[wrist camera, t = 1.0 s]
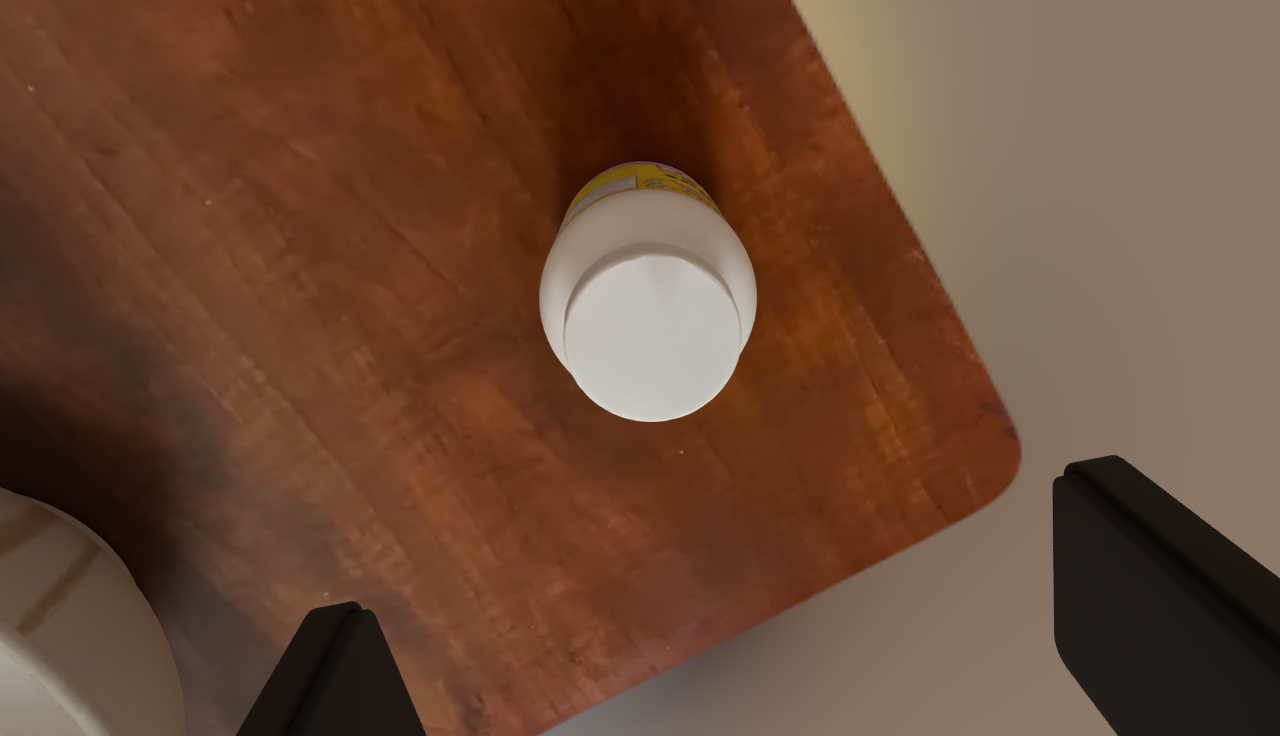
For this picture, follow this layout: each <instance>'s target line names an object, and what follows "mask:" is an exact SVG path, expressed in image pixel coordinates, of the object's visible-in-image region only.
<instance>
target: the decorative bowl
mask: <svg viewBox="0 0 1280 736" xmlns="http://www.w3.org/2000/svg"><path fill="white" fill-rule="evenodd" d="M0 736H186V721H185V710H184V703H183V696H182V689H181V685H180V680H179V676H178V672H177V668H176V664H175V661H174V657H173V655H172V652H171V649H170V646H169V643H168V641H167V638H166V636H165V634H164V631H163V629H162V627H161V625H160V623H159V621H158V619H157V617H156V615H155V613H154V612H153V610H152V608H151V606H150V605H149V603H148V601H147V600H146V598H145V597H144V595H143V594H142V592H141V591H140V590H139V588H138V587H137V586H136V583H135V581H134V579H133V577H132V575H131V574H130V572H129V570H128V569H127V567H126V566H125V564H124V563H123V561H122V560H121V559H120V557H119V556H118V555H117V554H116V552H115V551H114V550H113V549H112V548H111V547H110V546H109V545H108V544H107V543H106V542H105V541H104V540H103V539H102V538H101V537H100V536H98V535H97V534H96V533H95V532H94V531H92V530H91V529H90V528H88V527H87V526H86V525H84V524H83V523H81V522H80V521H78V520H77V519H75V518H73V517H72V516H70V515H68V514H67V513H65V512H63V511H61V510H59V509H57V508H55V507H53V506H50V505H48V504H46V503H43V502H41V501H38V500H35V499H32V498H29V497H26V496H22V495H19V494H15V493H13V492H11V491H9V490H6V489H3V488H1V487H0Z"/></svg>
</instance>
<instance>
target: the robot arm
mask: <svg viewBox="0 0 1280 736" xmlns="http://www.w3.org/2000/svg"><path fill="white" fill-rule="evenodd" d="M1053 567H1054V568H1053V570H1054V637H1055V643H1056V647H1057V650H1058V653H1059V655H1060V657H1061V659H1062V661H1063V663H1064V664H1065V666H1066V667H1067V669H1068V670H1069V671H1070V673H1071V674H1072V675H1073V677H1074V678H1075V679H1076V680H1077V682H1078V683H1079V685H1080V686H1081V687H1082V689H1083V690H1084V691H1085V693H1086V694H1087V695H1088V697H1089V698H1090V699H1091V701H1092V702H1093V703H1094V705H1095V706H1096V707H1097V709H1098V710H1099V711H1100V712H1101V714H1102V715H1103V717H1104V718H1105V719H1106V721H1107V722H1108V723H1109V725H1110V726H1111V727H1112V728H1113V730H1114V731H1115V732H1116V734H1117V735H1118V736H1280V578H1279V577H1277V576H1276V575H1275V574H1273V573H1272V572H1271V571H1269V570H1268V569H1267V568H1265V567H1264V566H1263V565H1261V564H1260V563H1259V562H1257V561H1256V560H1255V559H1254V558H1252V557H1251V556H1250V555H1248V554H1247V553H1246V552H1244V551H1243V550H1242V549H1241V548H1239V547H1238V546H1237V545H1235V544H1234V543H1233V542H1231V541H1230V540H1229V539H1227V538H1226V537H1225V536H1224V535H1222V534H1221V533H1220V532H1218V531H1217V530H1216V529H1214V528H1213V527H1211V526H1210V525H1209V524H1208V523H1206V522H1205V521H1204V520H1203V519H1201V518H1200V517H1199V516H1197V515H1196V514H1195V513H1193V512H1192V511H1191V510H1190V509H1188V508H1187V507H1186V506H1184V505H1183V504H1182V503H1180V502H1179V501H1178V500H1176V499H1175V498H1174V497H1172V496H1171V495H1170V494H1169V493H1167V492H1166V491H1165V490H1163V489H1162V488H1161V487H1159V486H1158V485H1157V484H1155V483H1154V482H1153V481H1152V480H1150V479H1149V478H1147V477H1146V476H1145V475H1144V474H1142V473H1141V472H1140V471H1138V470H1137V469H1136V468H1135V467H1133V466H1132V465H1131V464H1129V463H1128V462H1127V461H1125V460H1124V459H1123V458H1121V457H1119V456H1116V455H1110V456H1105V457H1100V458H1095V459H1090V460H1084V461H1080V462H1074V463H1070V464H1068V465H1067V466H1066V468H1065V470H1064V476H1061V477H1057V478H1056V479H1055V480H1054V482H1053ZM236 736H426V733H425V731H424V729H423V726H422V724H421V722H420V719H419V717H418V715H417V712H416V710H415V708H414V705H413V703H412V700H411V698H410V696H409V693H408V691H407V689H406V686H405V684H404V682H403V679H402V677H401V675H400V672H399V670H398V667H397V665H396V663H395V660H394V658H393V656H392V653H391V651H390V649H389V646H388V644H387V642H386V639H385V637H384V634H383V632H382V630H381V627H380V625H379V623H378V620H377V618H376V616H375V614H374V613H373V612H372V611H371V610H368V609H366V610H363V609H362V608H361V606H360V605H359V604H358V603H357V602H352V601H351V602H346V603H341V604H336V605H330V606H325V607H320V608H315V609H313V610H311V611H310V612H309V613H308V614H307V615H306V617H305V618H304V620H303V622H302V624H301V625H300V627H299V629H298V630H297V632H296V634H295V635H294V637H293V639H292V641H291V642H290V644H289V646H288V647H287V649H286V651H285V652H284V654H283V656H282V658H281V659H280V661H279V663H278V664H277V666H276V668H275V669H274V671H273V673H272V675H271V676H270V678H269V680H268V681H267V683H266V685H265V686H264V688H263V690H262V692H261V693H260V695H259V697H258V698H257V700H256V702H255V704H254V705H253V707H252V709H251V710H250V712H249V714H248V715H247V717H246V719H245V721H244V722H243V724H242V726H241V727H240V729H239V731H238V732H237V734H236Z"/></svg>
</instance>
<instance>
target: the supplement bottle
mask: <svg viewBox="0 0 1280 736" xmlns="http://www.w3.org/2000/svg"><path fill="white" fill-rule="evenodd" d="M539 301H540V313H541V320H542V323H543V327H544V330H545V334H546V336H547V339H548V341H549V343H550V345H551V347H552V349H553V351H554V353H555V354H556V356H557V357H558V359H559V360H560V362H561V363H562V364H563V365H564V366H565V368H566V369H567V370H568V371H569V372H570V373H571V374H572V375H573V377H574V379H575V380H576V382H577V384H578V385H579V387H580V388H581V389H582V390H583V391H584V392H585V393H586V395H587V396H588V397H589V398H590V399H591V400H593V401H594V402H595V403H597V404H598V405H599V406H601V407H602V408H604V409H606V410H607V411H609V412H611V413H613V414H615V415H618V416H621V417H624V418H627V419H631V420H636V421H646V422H655V421H666V420H670V419H675V418H679V417H682V416H685V415H687V414H690V413H692V412H694V411H696V410H697V409H699V408H700V407H702V406H704V405H705V404H706V403H708V402H709V401H710V400H712V399H713V398H714V397H715V396H716V395H717V394H718V393H719V392H720V391H721V389H722V388H723V387H724V386H725V384H726V383H727V381H728V380H729V378H730V377H731V375H732V373H733V371H734V369H735V367H736V364H737V362H738V358H739V355H740V353H741V352H742V350H743V348H744V346H745V344H746V342H747V340H748V338H749V335H750V333H751V330H752V326H753V323H754V319H755V313H756V304H757V291H756V282H755V276H754V272H753V268H752V265H751V262H750V259H749V257H748V254H747V252H746V250H745V248H744V246H743V245H742V243H741V241H740V239H739V238H738V236H737V235H736V233H735V232H734V231H733V229H732V228H731V227H730V225H729V224H728V222H727V221H726V219H725V218H724V216H723V214H722V213H721V212H720V210H719V209H718V207H717V206H716V205H715V203H714V202H713V200H712V199H711V198H710V196H709V195H708V194H707V193H706V191H705V190H704V189H703V188H702V187H701V186H700V185H699V184H698V183H697V182H696V181H694V180H693V179H692V178H690V177H689V176H688V175H686V174H685V173H683V172H681V171H679V170H677V169H675V168H673V167H670V166H667V165H664V164H660V163H654V162H630V163H625V164H621V165H618V166H615V167H612V168H610V169H608V170H606V171H604V172H602V173H600V174H599V175H597V176H596V177H594V178H593V179H592V180H590V181H589V182H588V183H587V184H586V185H585V186H584V187H583V188H582V189H581V190H580V191H579V192H578V194H577V195H576V197H575V198H574V200H573V201H572V203H571V204H570V206H569V208H568V210H567V213H566V215H565V217H564V220H563V222H562V224H561V226H560V229H559V232H558V234H557V237H556V239H555V241H554V244H553V246H552V248H551V250H550V253H549V255H548V257H547V260H546V263H545V266H544V270H543V273H542V278H541V283H540V294H539Z"/></svg>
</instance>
